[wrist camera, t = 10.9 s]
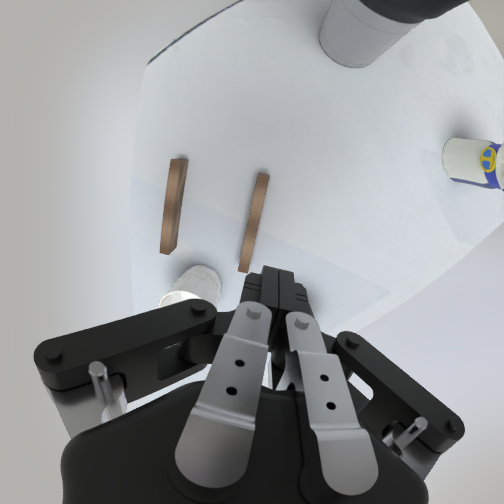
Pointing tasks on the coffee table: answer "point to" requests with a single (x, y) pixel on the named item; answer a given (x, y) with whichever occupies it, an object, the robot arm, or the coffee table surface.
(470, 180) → the white and blue figurine
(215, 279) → the white cup
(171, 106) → the coffee table surface
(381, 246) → the coffee table surface
